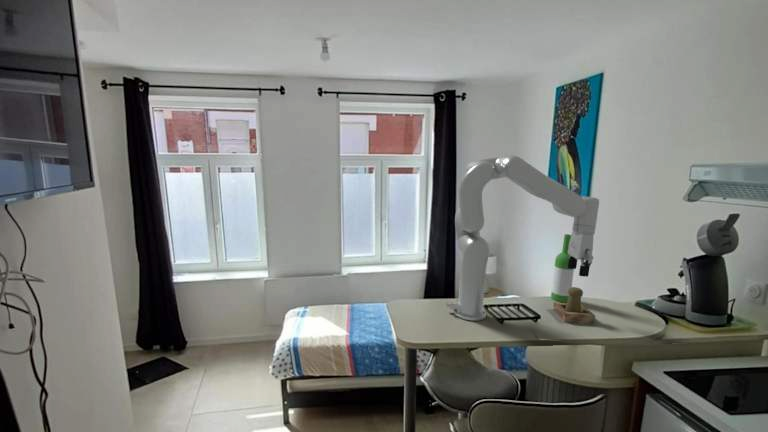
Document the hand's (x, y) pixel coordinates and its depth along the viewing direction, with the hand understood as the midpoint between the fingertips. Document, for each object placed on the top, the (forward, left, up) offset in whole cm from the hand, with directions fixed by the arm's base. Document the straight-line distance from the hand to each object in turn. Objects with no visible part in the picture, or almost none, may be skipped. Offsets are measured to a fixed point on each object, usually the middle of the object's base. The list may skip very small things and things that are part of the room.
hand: (577, 272), depth 141 cm
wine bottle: (+3, +19, -19) cm, 27 cm away
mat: (-1, 0, -19) cm, 19 cm away
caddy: (0, 0, -19) cm, 18 cm away
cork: (0, 0, -18) cm, 18 cm away
